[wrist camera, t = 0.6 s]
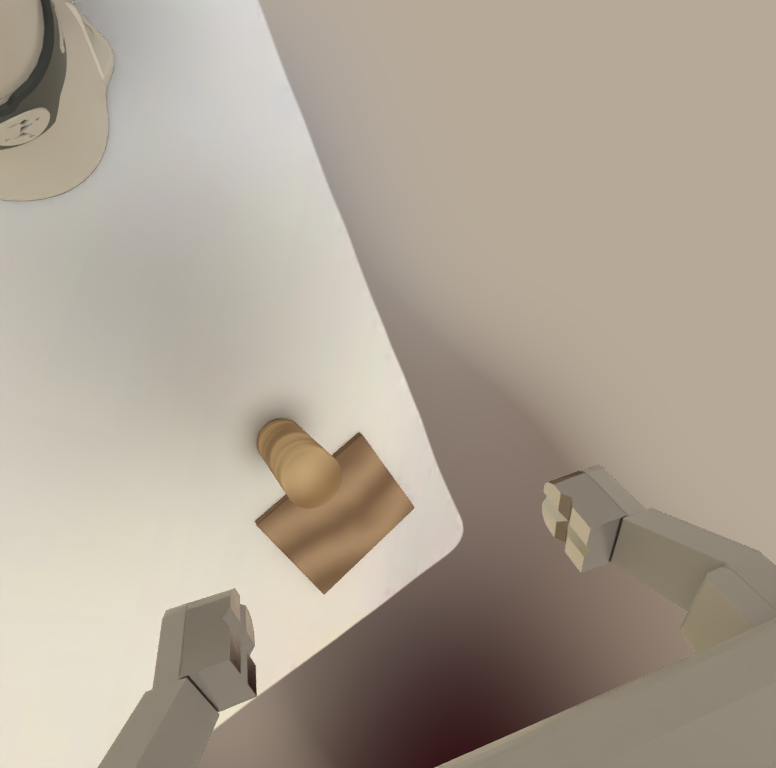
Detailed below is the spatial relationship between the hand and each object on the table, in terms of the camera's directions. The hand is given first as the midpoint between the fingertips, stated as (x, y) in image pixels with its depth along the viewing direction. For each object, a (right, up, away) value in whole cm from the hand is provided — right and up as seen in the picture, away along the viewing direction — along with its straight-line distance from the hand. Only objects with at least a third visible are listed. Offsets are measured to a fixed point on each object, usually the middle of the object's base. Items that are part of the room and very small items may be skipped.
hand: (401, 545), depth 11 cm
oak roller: (-12, -2, +37) cm, 39 cm away
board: (-6, -11, +42) cm, 44 cm away
